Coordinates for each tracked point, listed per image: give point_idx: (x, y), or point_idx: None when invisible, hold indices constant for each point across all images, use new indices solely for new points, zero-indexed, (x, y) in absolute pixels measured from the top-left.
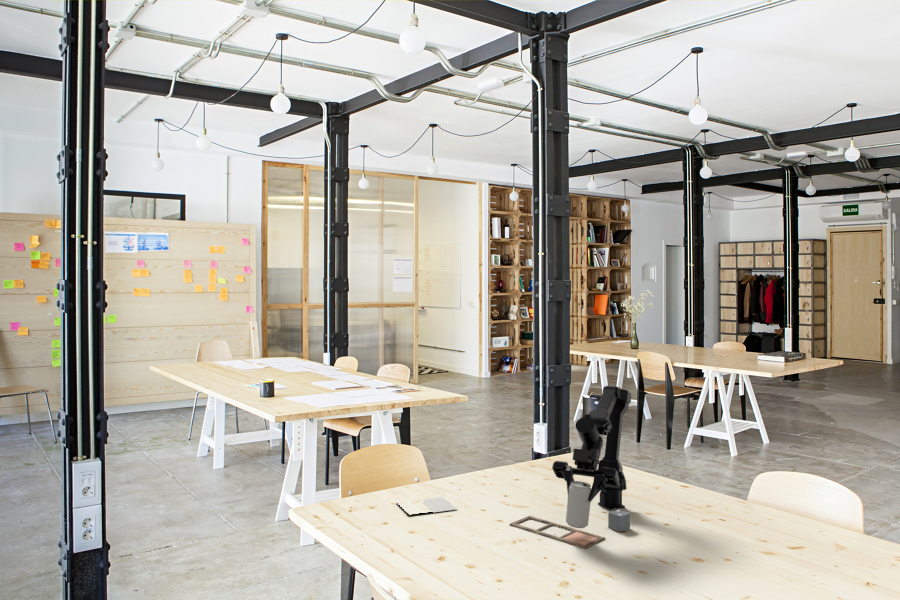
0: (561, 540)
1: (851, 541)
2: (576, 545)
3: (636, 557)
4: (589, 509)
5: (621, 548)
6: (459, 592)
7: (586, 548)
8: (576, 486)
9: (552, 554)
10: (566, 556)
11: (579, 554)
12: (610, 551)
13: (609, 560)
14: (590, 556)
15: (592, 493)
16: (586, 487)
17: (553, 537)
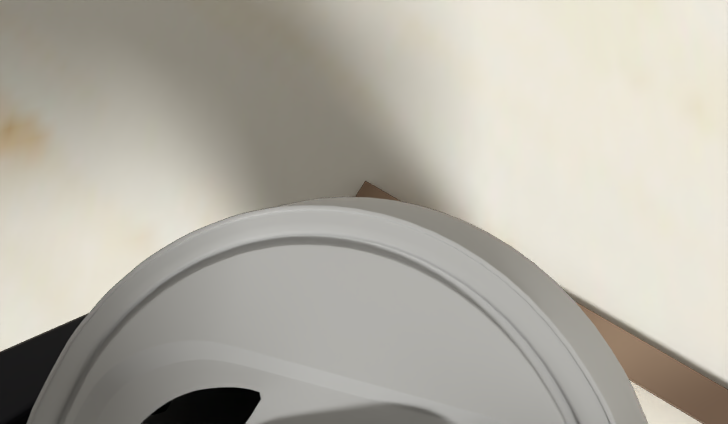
0: (583, 307)
1: None
2: None
3: (28, 116)
4: (256, 397)
5: (102, 257)
6: None
7: (364, 186)
8: (422, 227)
9: (623, 17)
10: (512, 9)
11: (417, 69)
12: (189, 180)
13: (211, 21)
14: (337, 54)
15: (77, 320)
16: (139, 265)
17: (667, 355)
